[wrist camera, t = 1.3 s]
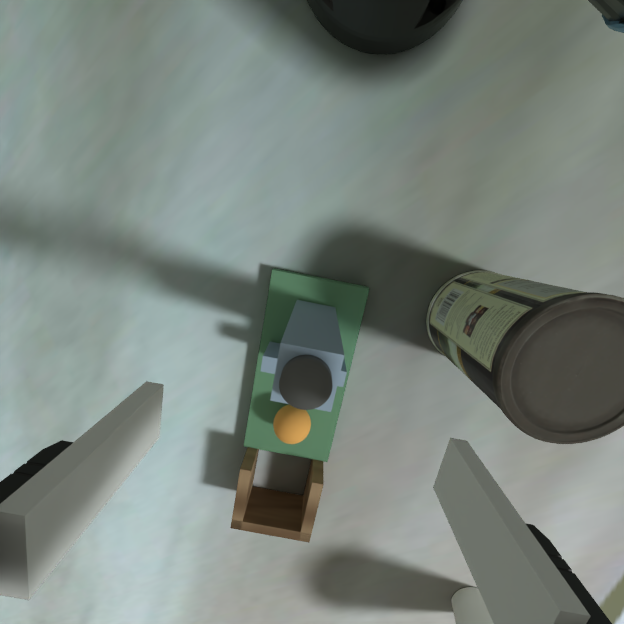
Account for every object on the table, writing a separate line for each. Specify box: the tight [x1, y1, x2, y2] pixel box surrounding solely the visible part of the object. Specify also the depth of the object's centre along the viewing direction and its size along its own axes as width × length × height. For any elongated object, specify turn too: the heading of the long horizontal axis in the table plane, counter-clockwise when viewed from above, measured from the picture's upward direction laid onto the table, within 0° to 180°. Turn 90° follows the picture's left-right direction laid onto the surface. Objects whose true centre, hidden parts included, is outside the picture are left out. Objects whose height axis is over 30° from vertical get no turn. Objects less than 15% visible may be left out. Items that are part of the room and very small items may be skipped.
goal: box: [231, 447, 323, 542], centre depth 36 cm, size 8×9×5 cm
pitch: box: [244, 268, 369, 462], centre depth 34 cm, size 21×10×2 cm, turn 169°
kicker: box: [260, 300, 347, 412], centre depth 26 cm, size 7×8×14 cm
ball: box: [273, 405, 311, 444], centre depth 33 cm, size 4×4×4 cm
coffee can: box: [426, 270, 624, 444], centre depth 26 cm, size 10×10×14 cm
